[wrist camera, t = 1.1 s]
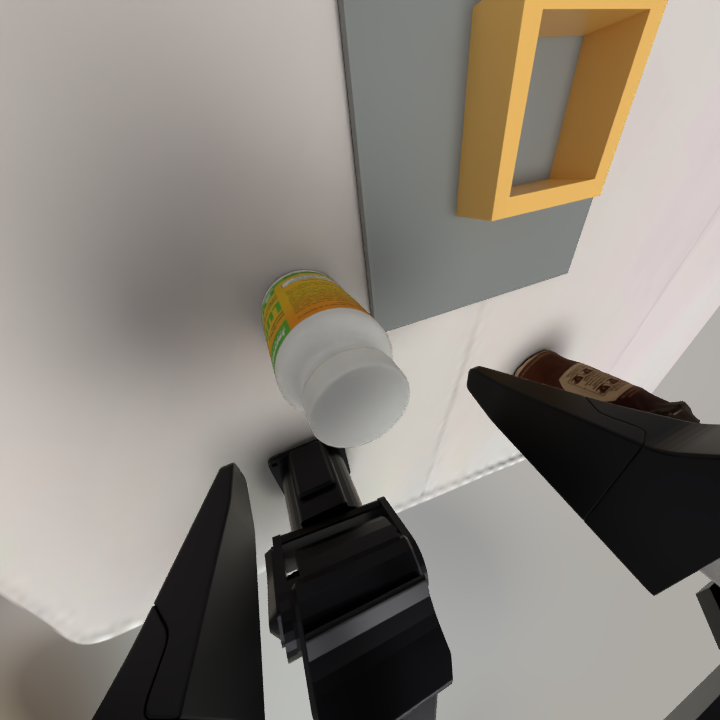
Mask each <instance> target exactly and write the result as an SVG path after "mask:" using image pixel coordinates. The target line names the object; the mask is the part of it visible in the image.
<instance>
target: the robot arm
mask: <svg viewBox="0 0 720 720" xmlns="http://www.w3.org/2000/svg"><path fill="white" fill-rule="evenodd" d="M467 388H468V390H469V392H470V393H471V394H472V396H473V397H474V398H475V400H476V401H477V402H478V404H479V405H480V406H481V408H482V409H483V410H484V412H485V413H486V414H487V416H488V417H489V418H490V419H491V420H492V422H493V423H494V424H495V425H496V426H497V427H498V428H499V429H500V430H501V432H502V433H503V434H504V435H505V436H506V437H507V438H508V439H509V440H510V441H511V442H512V443H513V445H514V446H515V447H516V448H517V449H518V450H519V451H520V452H521V453H522V454H523V455H524V457H525V458H526V459H527V460H528V461H529V462H530V463H531V464H532V465H533V466H534V467H535V468H536V470H537V471H538V472H539V473H540V474H541V475H542V476H543V477H544V478H545V479H546V480H547V481H548V483H549V484H550V485H551V486H552V487H553V488H554V489H555V490H556V491H557V492H558V493H559V494H560V496H561V497H563V499H564V500H565V501H566V502H567V503H568V504H569V505H570V506H571V507H572V508H573V510H574V511H575V512H576V513H577V514H578V515H579V516H580V517H581V518H582V519H583V520H584V522H585V523H586V524H587V525H588V526H589V527H590V528H591V529H592V531H593V532H594V533H595V534H596V535H597V536H598V537H599V538H600V539H601V540H602V541H603V542H604V543H605V545H606V546H607V547H608V548H609V549H610V550H611V551H612V552H613V553H614V554H615V555H616V557H617V558H618V559H619V560H620V561H621V562H622V563H623V564H624V565H625V566H626V567H627V568H628V570H629V571H630V572H631V573H632V574H633V575H634V576H635V577H636V578H637V579H638V580H639V582H640V583H641V584H642V585H643V586H644V587H645V588H646V589H647V590H648V591H649V592H650V593H651V594H652V595H654V596H655V595H657V594H658V593H660V592H662V591H664V590H665V589H667V588H669V587H671V586H672V585H674V584H676V583H678V582H679V581H681V580H683V579H684V578H686V577H688V576H690V575H691V574H693V573H695V572H697V571H698V570H700V571H701V572H702V573H703V574H704V575H706V576H707V577H708V578H709V579H711V580H712V581H711V582H709V583H708V584H707V585H706V586H705V587H704V588H702V589H701V590H700V591H699V592H698V593H696V596H697V598H698V601H699V603H700V605H701V608H702V610H703V612H704V614H705V617H706V619H707V622H708V624H709V627H710V629H711V631H712V634H713V636H714V638H715V641H716V643H717V645H718V648H719V649H720V425H716V424H715V425H714V424H700V423H693V422H688V421H683V420H679V419H674V418H670V417H666V416H661V415H657V414H653V413H649V412H644V411H640V410H636V409H632V408H627V407H623V406H619V405H615V404H612V403H608V402H604V401H601V400H597V399H593V398H590V397H587V396H585V397H584V396H583V395H579V394H576V393H572V392H569V391H565V390H562V389H558V388H555V387H551V386H548V385H544V384H541V383H537V382H534V381H530V380H527V379H524V378H520V377H517V376H513V375H510V374H506V373H503V372H499V371H496V370H492V369H489V368H485V367H482V366H477V367H474V368H472V369H470V370H469V373H468V380H467ZM268 465H269V468H270V470H271V472H272V474H273V476H274V477H275V479H276V481H277V483H278V485H279V486H280V488H281V490H282V492H283V493H284V495H285V499H286V505H287V510H288V515H289V521H290V526H291V532H290V533H287V534H284V535H281V536H280V535H277V536H275V537H272V539H273V547H271V549H270V550H269V551H268V552H267V553H266V554H265V561H266V571H267V584H268V614H269V628H270V633H271V634H273V635H274V636H276V637H277V638H279V639H280V640H281V644H282V648H284V647H286V653H287V658H288V663H291V662H293V661H294V660H297V659H299V658H300V657H302V656H303V663H304V669H305V675H306V681H307V687H308V693H309V700H310V706H311V711H312V716H313V719H314V720H435V719H436V707H437V694H438V693H439V692H441V691H442V690H444V689H445V688H446V687H448V686H449V685H450V684H452V681H453V675H452V662H451V661H452V660H451V653H450V650H449V647H448V645H447V642H446V640H445V637H444V635H443V632H442V629H441V627H440V624H439V622H438V619H437V617H436V614H435V611H434V607H433V604H432V601H431V597H430V594H429V589H428V574H427V569H426V566H425V563H424V560H423V557H422V554H421V552H420V550H419V548H418V546H417V544H416V542H415V540H414V539H413V537H412V535H411V534H410V532H409V531H408V530H407V528H406V527H405V525H404V524H403V523H402V521H401V520H400V518H399V517H398V516H397V514H396V513H395V511H394V510H393V508H392V507H391V506H390V504H389V503H388V501H387V500H386V499H385V497H384V496H383V497H381V498H378V499H377V500H376V501H373V502H371V503H368V504H365V505H363V506H362V503H361V501H360V498H359V496H358V494H357V491H356V489H355V486H354V484H353V482H352V479H351V477H350V468H349V464H348V460H347V456H346V452H345V448H338V447H332V446H329V445H326V444H324V443H323V442H321V441H320V440H318V439H317V440H315V441H312V442H310V443H307V444H305V445H302V446H300V447H297V448H295V449H293V450H290V451H288V452H285V453H283V454H280V455H278V456H275V457H273V458H271V459H270V460H269V461H268ZM296 569H297V571H296V572H293V573H292V574H291V575H288V576H287V573H289V572H291V571H294V570H296ZM154 604H155V606H153V607H152V608H151V610H150V612H149V614H148V616H147V618H146V620H145V622H144V624H143V626H142V628H141V630H140V632H139V634H138V636H137V638H136V640H135V642H134V644H133V646H132V648H131V650H130V652H129V654H128V656H127V658H126V659H125V661H124V663H123V665H122V667H121V668H120V670H119V672H118V674H117V676H116V677H115V679H114V681H113V683H112V685H111V687H110V688H109V690H108V692H107V694H106V696H105V697H104V700H103V701H102V703H101V705H100V706H99V708H98V710H97V711H96V713H95V715H94V717H93V718H92V720H265V713H264V693H263V676H262V656H261V637H260V620H259V600H258V582H257V563H256V544H255V530H254V523H253V517H252V512H251V506H250V500H249V494H248V489H247V483H246V480H245V477H244V475H243V474H242V472H241V471H240V469H239V468H238V466H237V465H236V464H235V463H231V464H228V465H226V466H223V467H221V468H220V470H219V471H218V473H217V476H216V478H215V480H214V482H213V484H212V486H211V488H210V490H209V492H208V494H207V496H206V498H205V500H204V502H203V504H202V506H201V508H200V510H199V512H198V514H197V516H196V518H195V520H194V522H193V524H192V527H191V529H190V531H189V533H188V535H187V537H186V539H185V541H184V543H183V545H182V547H181V549H180V551H179V553H178V555H177V557H176V559H175V561H174V563H173V565H172V567H171V569H170V571H169V573H168V575H167V577H166V580H165V582H164V584H163V586H162V588H161V590H160V592H159V594H158V596H157V598H156V600H155V602H154ZM664 720H720V665H719V666H718V667H717V668H716V669H715V670H714V671H713V672H712V673H711V674H710V675H709V676H708V677H707V678H706V679H705V680H704V681H703V682H702V683H700V685H699V686H697V687H696V688H695V689H694V690H693V691H692V693H690V694H689V695H688V696H687V697H686V698H685V699H684V700H683V701H682V702H681V703H680V704H679V705H678V706H677V707H676V708H675V709H674V710H673V711H672V712H671V713H670V714H669V715H668V716H667V717H666V718H665V719H664Z"/></svg>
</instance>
